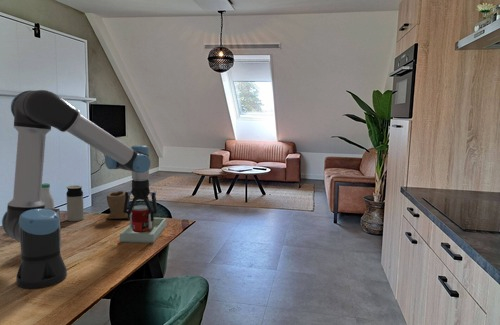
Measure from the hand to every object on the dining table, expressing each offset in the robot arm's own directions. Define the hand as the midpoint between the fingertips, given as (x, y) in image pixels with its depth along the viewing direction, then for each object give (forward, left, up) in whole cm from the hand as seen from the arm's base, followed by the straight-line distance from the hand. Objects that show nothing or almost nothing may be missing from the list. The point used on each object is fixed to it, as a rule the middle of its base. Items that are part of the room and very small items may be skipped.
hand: (141, 227), depth 172 cm
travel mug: (+27, +43, -5) cm, 51 cm away
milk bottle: (+22, +56, -5) cm, 60 cm away
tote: (+6, 0, -5) cm, 8 cm away
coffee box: (-15, +35, -5) cm, 38 cm away
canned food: (0, 0, -1) cm, 1 cm away
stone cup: (+31, +20, -5) cm, 37 cm away
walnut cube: (+10, 0, -4) cm, 10 cm away
